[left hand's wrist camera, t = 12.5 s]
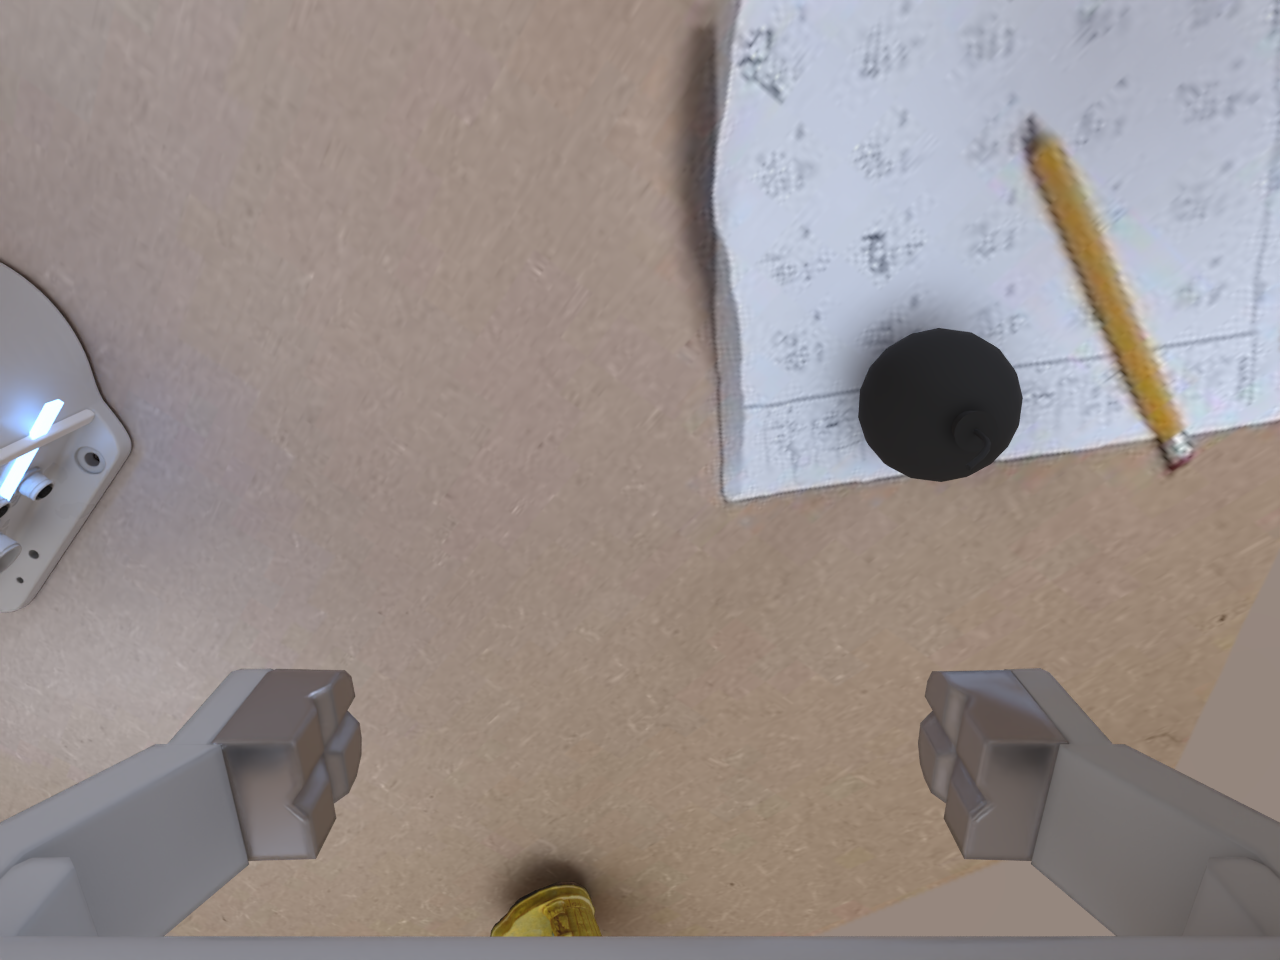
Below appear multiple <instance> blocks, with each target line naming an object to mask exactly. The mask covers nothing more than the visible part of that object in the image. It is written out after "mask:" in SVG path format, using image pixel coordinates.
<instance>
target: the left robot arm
mask: <svg viewBox="0 0 1280 960" xmlns="http://www.w3.org/2000/svg"><path fill="white" fill-rule="evenodd" d="M131 446H132V445H131V440H130V437H129V435H128V433H127V431H126V430H125V428H124V427H123V425H122V424H121V422H120V421H119V420H118V418H117V417H116V416H115V414H114V413H113V412H112V410H111V409H110V408H109V407H108V406H107V404H106V403H105V402H104V401H103V399H102V397H101V395H100V393H99V390H98V388H97V385H96V383H95V379H94V376H93V373H92V370H91V367H90V364H89V361H88V359H87V356H86V354H85V352H84V350H83V348H82V345H81V344H80V342H79V340H78V338H77V336H76V335H75V333H74V331H73V330H72V328H71V327H70V325H69V324H68V322H67V321H66V319H65V318H64V317H63V315H62V314H61V313H60V312H59V310H58V309H57V308H56V307H55V306H54V305H53V304H52V302H51V301H50V300H49V299H48V298H47V297H46V296H45V295H44V294H43V293H42V292H41V291H40V290H38V289H37V288H36V287H35V286H34V285H33V284H32V283H30V282H29V281H28V280H26V279H25V278H24V277H23V276H21V275H20V274H18V273H17V272H16V271H14V270H13V269H11V268H9V267H8V266H6V265H4V264H3V263H1V262H0V613H6V612H14V611H17V610H19V609H21V608H23V607H25V606H27V605H28V604H29V603H30V602H31V601H32V600H33V599H34V597H35V596H36V594H37V593H38V591H39V590H40V588H41V587H42V586H43V584H44V583H45V581H46V579H47V578H48V576H49V575H50V573H51V572H52V570H53V569H54V567H55V566H56V564H57V563H58V561H59V560H60V558H61V557H62V555H63V554H64V552H65V551H66V549H67V548H68V546H69V545H70V543H71V542H72V540H73V539H74V537H75V536H76V534H77V533H78V531H79V530H80V528H81V527H82V525H83V524H84V522H85V521H86V519H87V518H88V516H89V515H90V513H91V512H92V510H93V509H94V507H95V506H96V504H97V503H98V501H99V500H100V498H101V497H102V495H103V494H104V492H105V491H106V489H107V488H108V486H109V485H110V483H111V482H112V480H113V479H114V477H115V476H116V474H117V473H118V471H119V470H120V468H121V467H122V465H123V464H124V462H125V461H126V459H127V458H128V456H129V454H130V452H131ZM93 453H94V454H96V455H97V456H98V457H99V460H100V462H98V461H97V460H96V459H95V458H94V456H93ZM354 698H355V692H354V687H353V682H352V677H351V676H350V675H349V674H348V673H347V672H346V671H345V670H304V669H275V670H273V669H239V670H236V671H233V672H231V673H230V674H229V675H228V676H227V677H226V678H225V679H224V681H223V682H222V683H221V684H220V685H219V686H218V687H217V688H216V690H215V691H214V692H213V693H212V694H211V695H210V696H209V697H208V699H207V700H206V701H205V702H204V703H203V704H202V705H201V707H200V708H199V709H198V710H197V711H196V712H195V713H194V714H193V716H192V717H191V718H190V719H189V720H188V721H187V722H186V723H185V725H184V726H183V727H182V728H181V729H180V730H179V731H178V732H177V734H176V735H175V736H174V737H173V738H172V739H171V740H170V741H169V743H168V744H155V745H153V746H151V747H149V748H147V749H145V750H143V751H141V752H139V753H137V754H135V755H133V756H131V757H129V758H127V759H125V760H123V761H121V762H119V763H117V764H115V765H113V766H111V767H109V768H107V769H105V770H103V771H101V772H99V773H97V774H95V775H93V776H91V777H89V778H87V779H85V780H83V781H82V782H80V783H78V784H76V785H74V786H72V787H70V788H68V789H66V790H64V791H62V792H60V793H58V794H56V795H54V796H52V797H50V798H48V799H46V800H44V801H42V802H40V803H38V804H36V805H34V806H32V807H30V808H28V809H26V810H24V811H22V812H20V813H18V814H16V815H14V816H12V817H10V818H8V819H6V820H4V821H2V822H0V960H1280V823H1279V822H1277V821H1275V820H1274V819H1272V818H1270V817H1268V816H1266V815H1264V814H1262V813H1260V812H1258V811H1256V810H1254V809H1252V808H1250V807H1248V806H1246V805H1244V804H1242V803H1240V802H1238V801H1236V800H1234V799H1232V798H1230V797H1228V796H1226V795H1224V794H1222V793H1220V792H1218V791H1216V790H1214V789H1212V788H1210V787H1208V786H1206V785H1204V784H1202V783H1200V782H1198V781H1196V780H1194V779H1192V778H1190V777H1188V776H1186V775H1184V774H1182V773H1180V772H1178V771H1177V770H1175V769H1173V768H1171V767H1169V766H1167V765H1165V764H1163V763H1161V762H1159V761H1157V760H1155V759H1153V758H1151V757H1149V756H1147V755H1145V754H1143V753H1141V752H1139V751H1137V750H1135V749H1133V748H1131V747H1129V746H1127V745H1125V744H1112V743H1111V741H1110V740H1109V739H1108V738H1107V737H1106V736H1105V735H1104V734H1103V732H1102V731H1101V730H1100V729H1099V728H1098V727H1097V726H1096V725H1095V723H1094V722H1093V721H1092V720H1091V719H1090V718H1089V717H1088V716H1087V714H1086V713H1085V712H1084V711H1083V710H1082V709H1081V708H1080V707H1079V705H1078V704H1077V703H1076V702H1075V701H1074V700H1073V699H1072V698H1071V696H1070V695H1069V694H1068V693H1067V692H1066V691H1065V690H1064V688H1063V687H1062V686H1061V685H1060V684H1059V683H1058V682H1057V681H1056V679H1055V678H1054V677H1053V676H1052V675H1051V674H1050V673H1049V672H1047V671H1045V670H1043V669H1041V668H1033V669H1004V670H986V671H932V673H931V675H930V677H929V679H928V681H927V686H926V692H925V698H926V699H927V701H928V703H929V705H930V706H931V708H932V710H933V711H932V712H931V713H930V714H929V715H928V716H927V717H926V718H925V719H924V720H923V721H922V722H921V723H920V731H919V740H918V748H919V759H920V765H921V769H922V772H923V776H924V779H925V781H926V783H927V785H928V787H929V789H930V792H931V793H932V794H934V795H935V796H936V797H938V798H939V799H941V800H942V801H943V802H945V803H946V808H945V814H944V820H945V822H946V824H947V826H948V828H949V830H950V832H951V834H952V836H953V838H954V840H955V842H956V844H957V846H958V848H959V849H960V851H961V853H962V855H963V857H964V859H983V860H1020V861H1032V862H1031V864H1032V865H1033V866H1034V867H1035V868H1036V869H1038V870H1039V871H1040V872H1041V873H1042V874H1043V875H1045V876H1046V877H1047V878H1048V879H1049V880H1051V881H1052V882H1053V883H1054V884H1055V885H1056V886H1058V887H1059V888H1060V889H1061V890H1062V891H1064V892H1065V893H1066V894H1067V895H1068V896H1070V897H1071V898H1072V899H1073V900H1074V901H1075V902H1077V903H1078V904H1079V905H1080V906H1081V907H1082V908H1084V909H1085V910H1086V911H1087V912H1088V913H1090V914H1091V915H1092V916H1093V917H1094V918H1095V919H1097V920H1098V921H1099V922H1100V923H1101V924H1103V925H1104V926H1105V927H1106V928H1107V929H1108V930H1110V931H1111V932H1112V933H1113V934H1114V935H1116V936H1064V937H1063V936H1062V937H1000V936H999V937H998V936H997V937H993V936H992V937H990V936H987V937H985V936H984V937H983V936H979V937H978V936H582V937H268V936H165V935H166V934H167V933H168V932H169V931H171V930H172V929H173V928H174V927H175V926H176V925H178V924H179V923H180V922H181V921H182V920H184V919H185V918H186V917H187V916H188V915H190V914H191V913H192V912H193V911H194V910H195V909H197V908H198V907H199V906H200V905H201V904H203V903H204V902H205V901H206V900H207V899H208V898H210V897H211V896H212V895H213V894H214V893H216V892H217V891H218V890H219V889H220V888H222V887H223V886H224V885H225V884H226V883H227V882H229V881H230V880H231V879H232V878H233V877H235V876H236V875H237V874H238V873H239V872H240V871H242V870H243V869H244V868H245V867H246V866H248V865H249V862H248V861H261V860H295V859H316V858H317V856H318V854H319V852H320V850H321V848H322V846H323V844H324V842H325V840H326V838H327V836H328V834H329V832H330V830H331V828H332V826H333V824H334V822H335V820H336V814H335V808H334V803H335V802H337V801H338V800H339V799H341V798H342V797H344V796H345V795H346V794H348V793H349V792H350V789H351V787H352V785H353V783H354V781H355V779H356V777H357V772H358V768H359V763H360V759H361V746H362V737H361V730H360V723H359V722H358V721H357V720H356V719H355V718H354V717H353V716H352V715H351V714H350V713H349V712H348V711H347V710H348V708H349V706H350V705H351V703H352V701H353V699H354Z"/></svg>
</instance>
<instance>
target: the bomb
mask: <svg viewBox="0 0 1280 960" xmlns="http://www.w3.org/2000/svg"><path fill="white" fill-rule="evenodd" d="M1022 399H1023V397H1022V393H1021V389H1020V385H1019V381H1018V377H1017V374H1016V372H1015V370H1014V368H1013V367H1012V366H1011V364H1010V363H1009V362H1008V360H1007V359H1006V358H1005V356H1004V355H1003V353H1002V352H1001V351H1000V349H998V348H997V347H995V346H994V345H992V344H990V343H989V342H987V341H985V340H983V339H982V338H980V337H978V336H976V335H975V334H973V333H970V332H963V331H956V330H949V329H941V328H937V329H933V330H928V331H923V332H919V333H914V334H911V335H909V336H907V337H905V338H904V339H902V340H900V341H899V342H897V343H895V344H893V345H892V346H890V347H888V348H887V349H886V350H885V351H884V352H883V353H882V354H881V355H880V357H879V358H878V359H877V360H876V361H875V362H874V363H873V364H872V366H871V367H870V368H869V371H868V373H867V375H866V378H865V380H864V382H863V385H862V387H861V389H860V400H859V416H858V418H859V421H860V424H861V427H862V430H863V433H864V436H865V439H866V441H867V443H868V445H869V446H870V447H871V448H872V449H873V451H874V452H875V453H876V454H877V455H878V457H879V458H880V459H881V460H882V461H883V463H885V464H886V465H888V466H889V467H891V468H893V469H895V470H897V471H899V472H901V473H903V474H904V475H906V476H908V477H910V478H916V479H923V480H931V481H939V482H943V481H948V480H953V479H958V478H963V477H967V476H969V475H971V474H973V473H975V472H977V471H979V470H980V469H982V468H984V467H986V466H988V465H990V464H991V463H992V462H993V461H994V460H995V459H996V458H997V457H998V456H999V455H1000V454H1001V453H1002V452H1003V451H1004V450H1005V449H1006V448H1007V447H1008V445H1009V443H1010V442H1011V440H1012V438H1013V436H1014V434H1015V432H1016V430H1017V428H1018V426H1019V421H1020V413H1021V406H1022Z"/></svg>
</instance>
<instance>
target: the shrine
mask: <svg viewBox="0 0 1280 960" xmlns="http://www.w3.org/2000/svg"><path fill="white" fill-rule="evenodd" d="M594 911H595V908H594V906H593V905H592V901H591V898H590V895H589V894H588V893H587V891H586V888H584V887H583V886H581V885H580V884H578V883H575V882H573V881H572V882H559V883H555V884H552V885H549V886H547V887H544V888H542V889H539V890H536V891H534V892H532V893H530V894H528V895H526V896H524V897H522V898H520V899H519V900H518V901H517V902H516V903H515V904H514V905H513V906H512V907H511V908H510V910H509V912H508V913H507V914H506V915H505V916H504V917H503V918H501V919H500V921H499V922H498V923H496V924H495V925H494V927H493V929H492V930H491V936H490V937H582V936H602V935H601V933H600V930H599V927H598V925H597V923H596V920H595V918H594V913H595V912H594Z"/></svg>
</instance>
